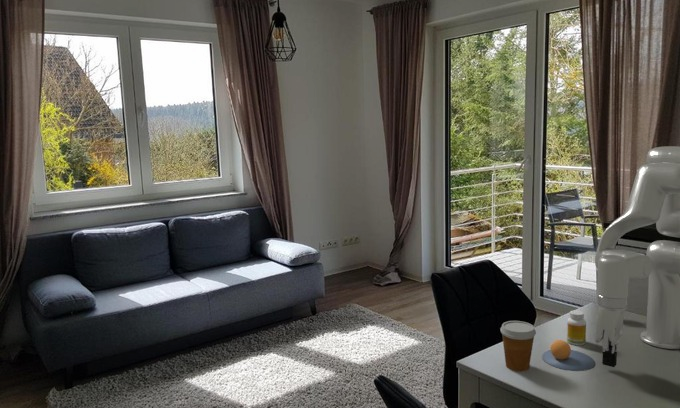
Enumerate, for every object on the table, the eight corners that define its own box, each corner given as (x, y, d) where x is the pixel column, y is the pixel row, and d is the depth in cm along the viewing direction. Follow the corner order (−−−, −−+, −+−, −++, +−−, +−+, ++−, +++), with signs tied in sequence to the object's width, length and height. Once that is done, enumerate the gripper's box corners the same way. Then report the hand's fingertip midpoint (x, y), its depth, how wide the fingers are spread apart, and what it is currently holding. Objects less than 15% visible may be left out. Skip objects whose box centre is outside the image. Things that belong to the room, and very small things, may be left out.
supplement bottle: (587, 346, 162) (588, 315, 161) (568, 345, 164) (569, 315, 162) (583, 339, 168) (584, 309, 166) (564, 338, 169) (565, 309, 167)
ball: (551, 344, 159) (563, 334, 156) (565, 359, 156) (577, 349, 153) (543, 350, 155) (555, 339, 152) (557, 366, 153) (570, 355, 150)
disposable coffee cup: (493, 366, 151) (493, 326, 150) (511, 356, 157) (512, 317, 156) (523, 377, 144) (524, 335, 142) (541, 366, 150) (542, 326, 148)
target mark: (551, 345, 164) (551, 345, 164) (600, 357, 155) (600, 356, 155) (534, 361, 153) (534, 361, 153) (586, 375, 144) (586, 374, 144)
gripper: (604, 291, 152) (602, 352, 155) (588, 306, 141) (586, 371, 143) (633, 296, 147) (630, 358, 150) (620, 311, 136) (617, 379, 139)
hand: (609, 364), depth 147 cm, fingers closed
